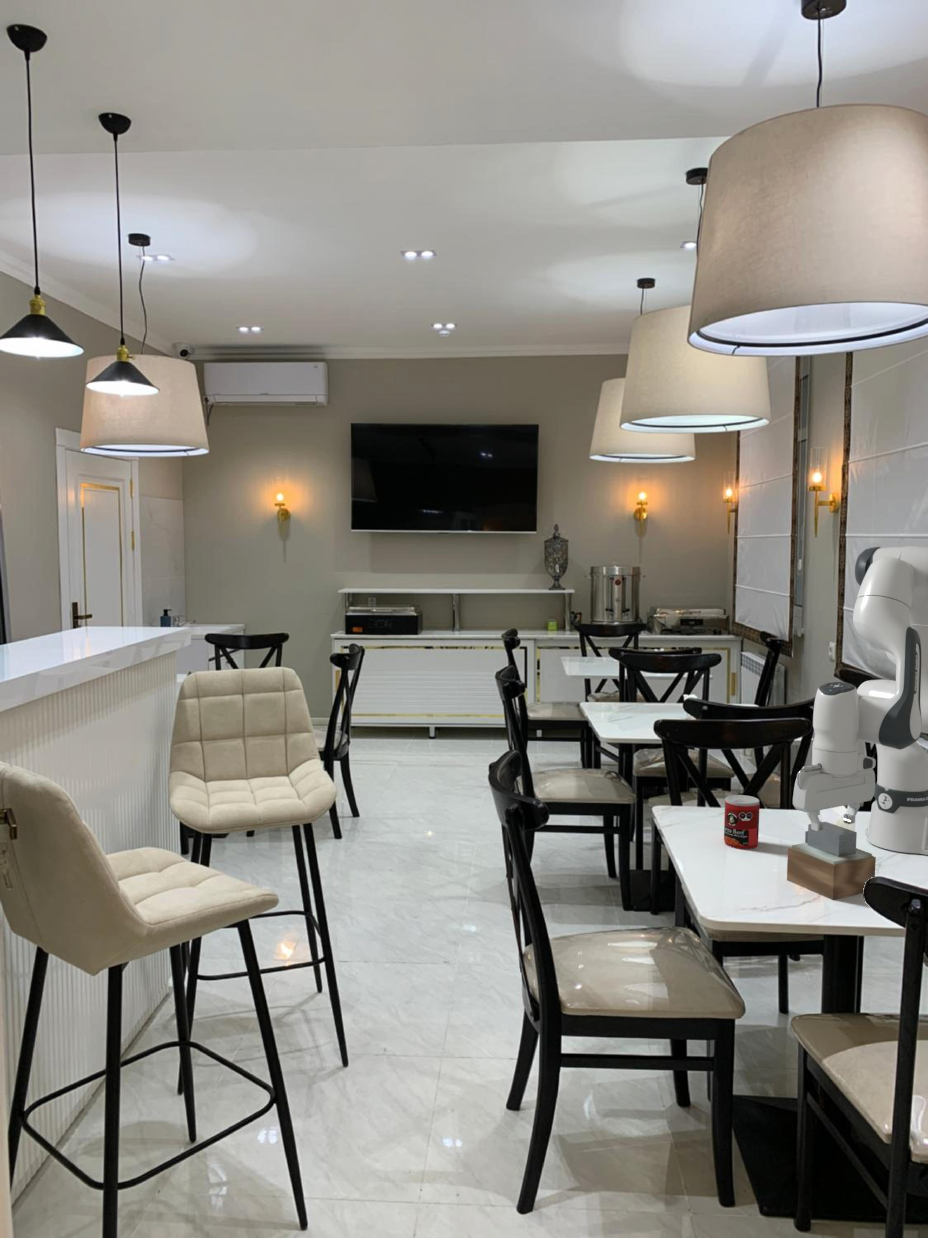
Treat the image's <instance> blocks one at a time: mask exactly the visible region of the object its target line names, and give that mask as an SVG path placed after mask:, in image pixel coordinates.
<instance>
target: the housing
mask: <svg viewBox="0 0 928 1238" xmlns="http://www.w3.org/2000/svg"><path fill="white" fill-rule="evenodd" d="M822 822H823V826H822V827H823V829H822V830H819V831H815V830H812V829H811V823H809V824H808V825H807V826H808V827H807V831H804V833H805V834H804V835H805V838H804V843H808V846H811V847H813V848H816V849H818V850H821V851H824V852H826V853H829V854H832V855H834V856H837V857H842V856H847V855H852V854H856V848H857V836H858V835H857V831H854V830H851V829H848V828H845V827H842V826H839V825H837V824H833V823H830V822H827V821H822Z"/></svg>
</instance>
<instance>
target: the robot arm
mask: <svg viewBox="0 0 928 1238" xmlns="http://www.w3.org/2000/svg"><path fill="white" fill-rule="evenodd" d="M854 575H855V581H856V583H857V585H858V586H859V589H858V592H857V597H856V599H855V604H854V608H853V612H852V613H853V614H852V624H853V626H854V630H855V632H857V634H858V635H859V636H860V637H861V639H863V640H865V641H866V642H867V643H869V644H871V645H872V646H874V647H876V648H878V649H881V650H883V651H885V654H886V657H887V659H888V660H889V661H890V662H892V663H893V664H894V665H895V666H896V667H895V680H892V679H891V680H890V679H885V678H884V679H870V680H866V681H864V682H862V683H861V684H860V685H859V686H858V687H856V685H854V684H852V683H849V682H843V681H832V682H826V683H823V684H821V685H820V686H819V687H818V688H817V690H816V693H815V698H814V702H813V703H814V704H813V714H812V727H813V732H814V738H813V742H812V747H811V751H812V754H811V755H812V756H811V765H805V766H802V767H801V769H800V770H799V771H798V772H797V774H796V779H795V782H794V787H793V795H792V805H793V807H794V808H795V810H798V811H801V812H804V813H806V814H807V817H808V818H809V820H810V824H811V829H812V830H815V831H819V830H822V829H823V827H822V826H823V822H824V821H820V818H819V816H820V815H821V811H824V810H829V809H833V808H839V807H842V806H843V807H845V806H848V807H847V810H846V813H844V814H843V820H842V821H843V823H844V824H847V825H853V824H855V823H856V816H857V813H858V811H859V809H860V807H861V803H864V802H870V801H872V800H873V797H874V799H875V800H874V801H873V802H872V804H871V810H870V817H869V823H868V828H866V829H865V835H866V836H867V837H866V840H867V842H868V843H870V844H872V845H874V846H876V847H878V848H881V849H886V850H889V851H893V852H898V853H906V854H917V855H919V854H921V855H924V856H925V855H926V856H928V752H927V751H926V750H925V749H924V748H923V747H922V746H921V745H920V744H919V743H918V742H917V741H918V740H919V739H920V737H921V733H923V734H928V546H920V545H919V546H917V545H906V546H887V547H881V546H875V547H869V548H865V549H864V550H863V551H862V552H861V553H860V554H858V556H857V558H856V561H855V565H854ZM858 742H864V743H870V744H875V747H876V753H877V754H876V755H877V775H876V774H875V771H874V768H875V767H876V759H875V758H874V757H871V756H868V755H864V754H860V752H859V744H858ZM876 777H877V781H876Z"/></svg>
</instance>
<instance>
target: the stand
mask: <svg viewBox="0 0 928 1238" xmlns="http://www.w3.org/2000/svg"><path fill="white" fill-rule="evenodd" d="M876 858H877V857H876V856H874V855H873V853H871V852H868V851H865V850H863V849H859V848H857V847H856V854H852V855H847V856H842V857H837V856H834V855H832V854H829V853H826V852H824V851H821V850H818V849H816V848H813V847H811V846H808V843H805V842H802V843H797V844H796V843H795V844H792V845H791V846H789V847H787V860H786V861H787V866H786V867H787V868H786V881H789V882H791V883H793V884H795V885H797V886H800V887H803V888H804V889H807V890H810V891H811V892H814V893H816V894H818V895H821V896H823V897H825V898H828V899H830V900H833V901H834V900H837V899H842V898H846V897H851V896H855V895H856V896H857V895H860V894H864V893H863V888H864V885H865V882H866V881H867V880H868V879H870V878H871V877H875V878H876V862H877V861H876V860H877V859H876Z"/></svg>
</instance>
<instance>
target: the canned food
mask: <svg viewBox="0 0 928 1238" xmlns="http://www.w3.org/2000/svg"><path fill="white" fill-rule="evenodd" d="M760 803H761V802H760V799H759V798H757V797H755V796H751V795H744V794H732V795H728V796H726V797H725V800H724V820H723V821H724V823H723V824H724V825H723V827H724V828H723V840H724V844H725V845H726V846H728V847H730V846H731V847H730V848H733V847H734V849H738V848H739V850H751V848H752V849H755V848H756V847H757V846H758V845H759V832H760V829H759V828H760V809H761V807H760Z"/></svg>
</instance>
